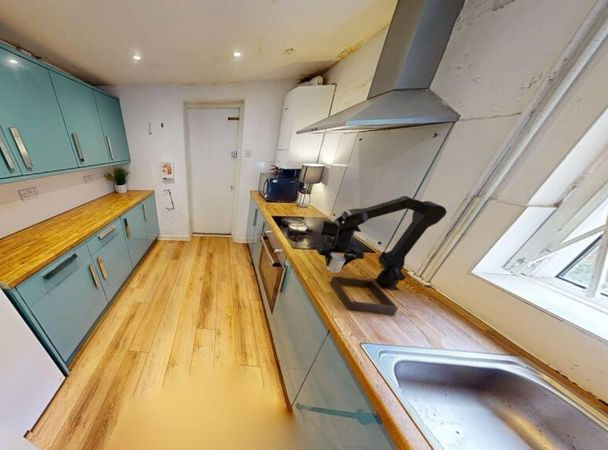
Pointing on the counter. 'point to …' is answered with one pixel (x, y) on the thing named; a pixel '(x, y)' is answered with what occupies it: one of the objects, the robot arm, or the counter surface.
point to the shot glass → (336, 263)
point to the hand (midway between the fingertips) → (333, 266)
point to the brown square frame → (385, 308)
